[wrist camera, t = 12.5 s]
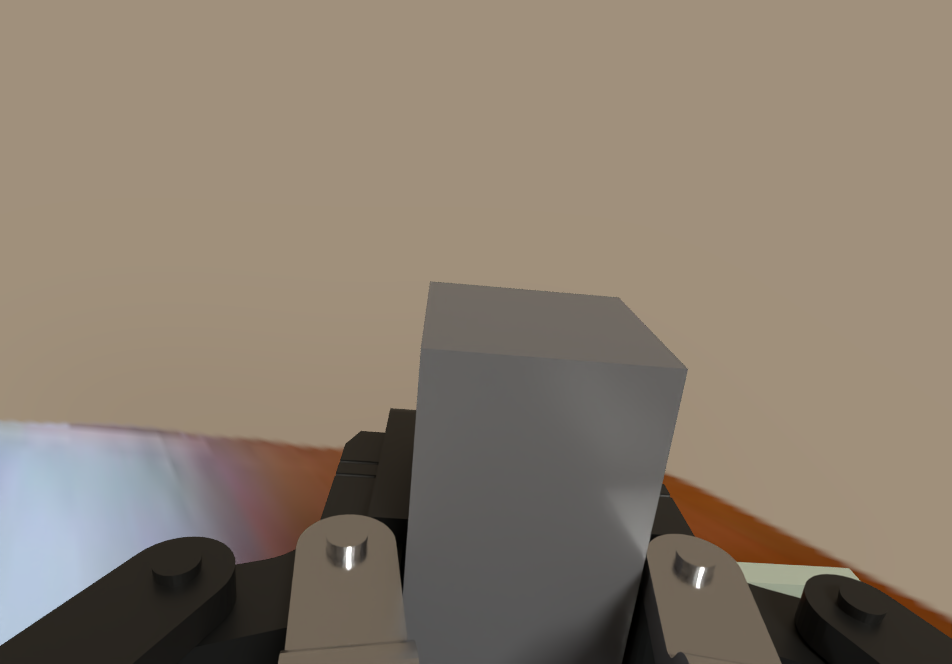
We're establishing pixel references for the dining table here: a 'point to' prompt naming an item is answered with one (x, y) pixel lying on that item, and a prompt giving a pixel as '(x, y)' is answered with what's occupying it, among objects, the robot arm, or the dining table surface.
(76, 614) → the robot arm
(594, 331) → the gray t-shaped block
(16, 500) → the dining table surface
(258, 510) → the dining table surface
